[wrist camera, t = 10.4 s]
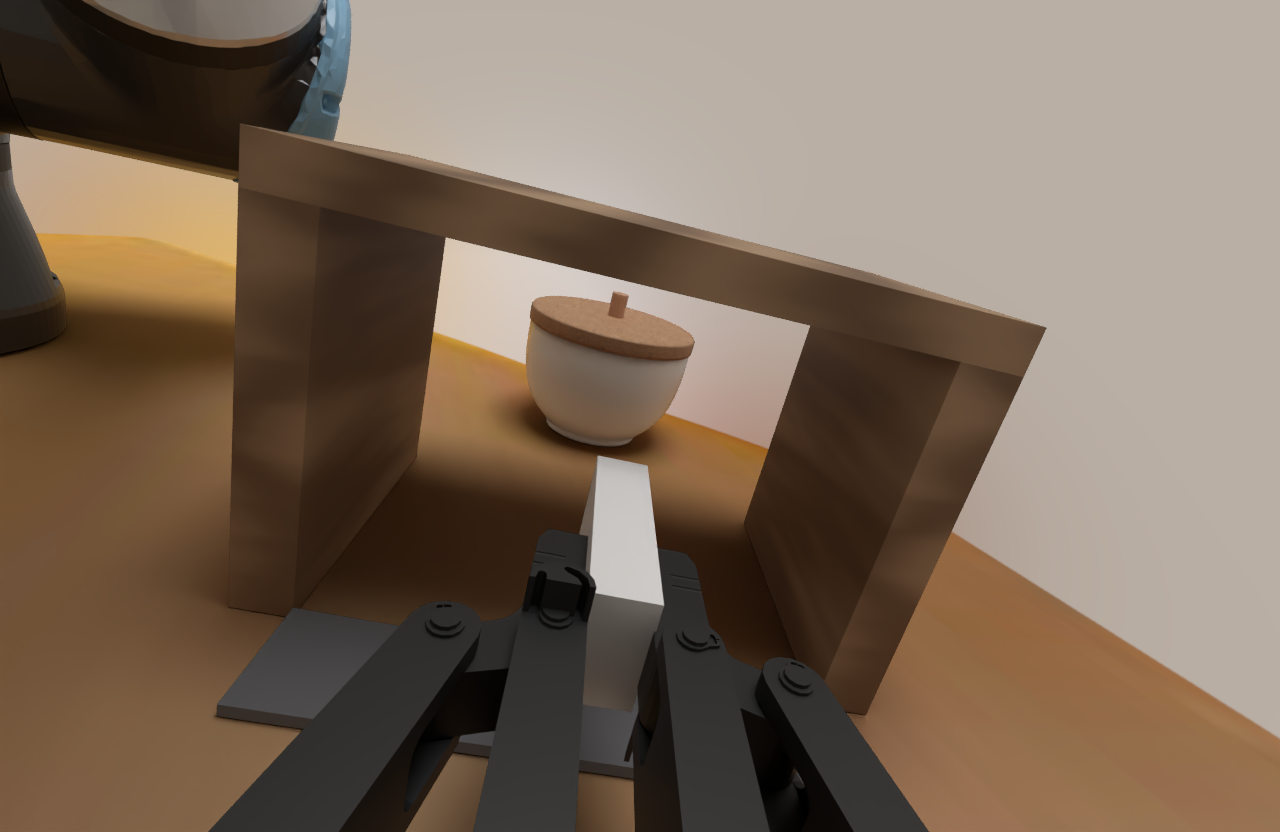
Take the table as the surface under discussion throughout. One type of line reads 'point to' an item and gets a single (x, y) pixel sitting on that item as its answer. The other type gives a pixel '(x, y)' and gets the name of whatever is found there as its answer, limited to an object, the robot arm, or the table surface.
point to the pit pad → (337, 648)
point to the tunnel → (627, 250)
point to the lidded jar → (602, 367)
